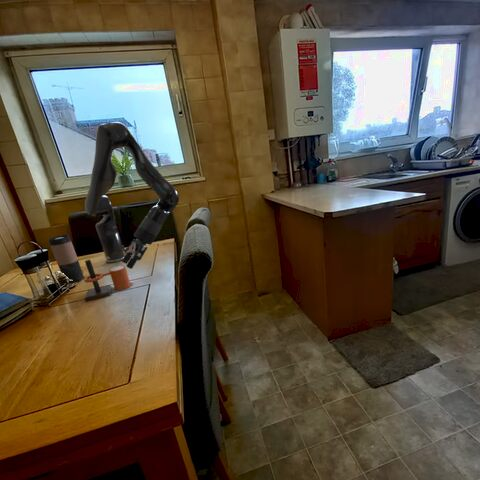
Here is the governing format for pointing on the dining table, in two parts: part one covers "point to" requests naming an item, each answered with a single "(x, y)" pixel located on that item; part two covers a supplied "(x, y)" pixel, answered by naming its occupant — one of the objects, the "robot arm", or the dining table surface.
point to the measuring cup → (114, 277)
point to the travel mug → (66, 257)
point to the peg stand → (96, 285)
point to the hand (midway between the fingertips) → (126, 265)
